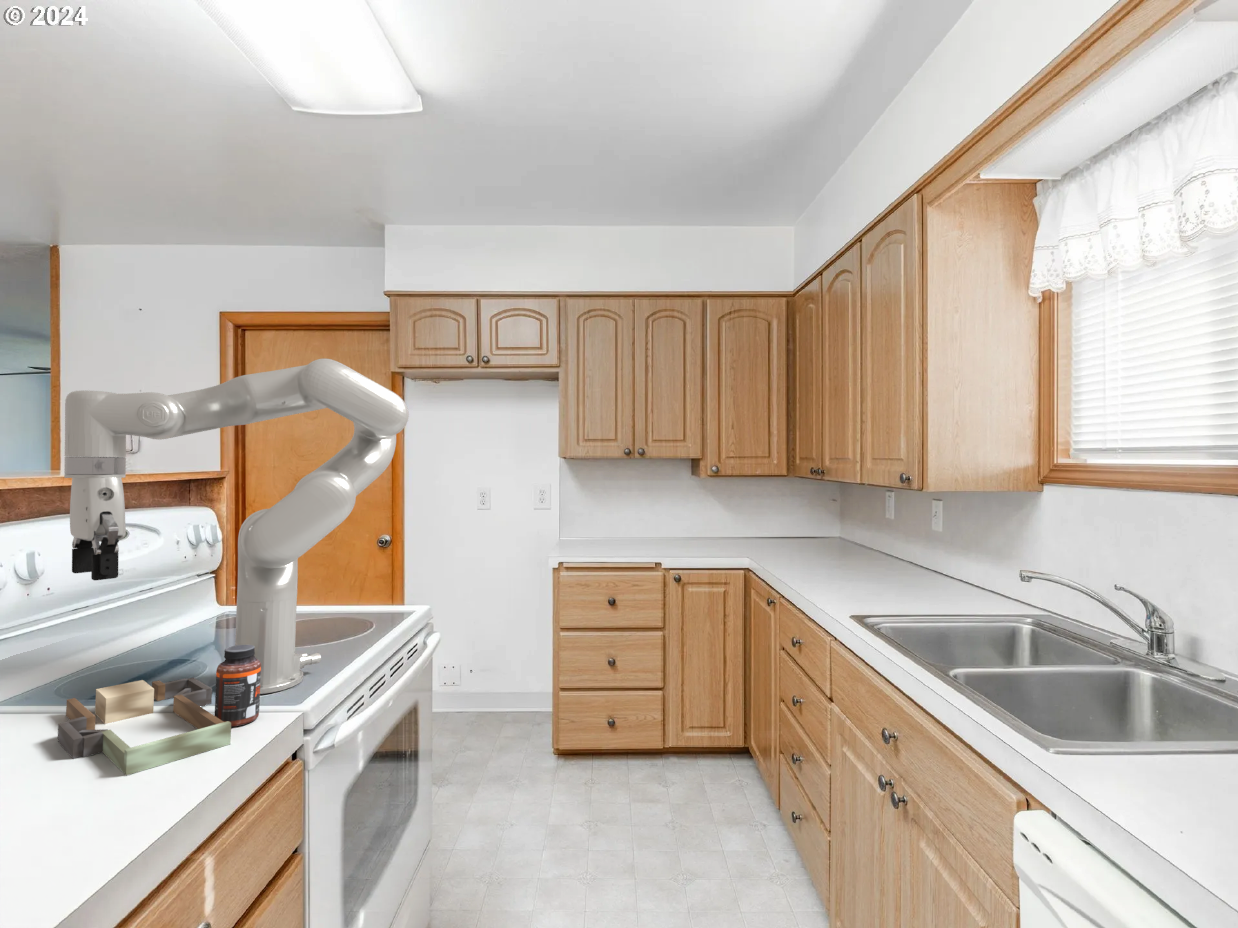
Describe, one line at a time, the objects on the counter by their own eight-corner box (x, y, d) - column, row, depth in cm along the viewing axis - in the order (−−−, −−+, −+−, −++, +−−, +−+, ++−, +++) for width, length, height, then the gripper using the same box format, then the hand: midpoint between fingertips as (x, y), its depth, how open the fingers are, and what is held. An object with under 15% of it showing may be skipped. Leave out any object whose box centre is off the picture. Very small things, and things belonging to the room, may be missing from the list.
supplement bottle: (263, 721, 96) (266, 648, 96) (219, 732, 92) (222, 655, 92) (253, 710, 100) (256, 640, 101) (210, 719, 96) (212, 646, 96)
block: (141, 704, 102) (142, 679, 102) (153, 713, 98) (154, 688, 98) (94, 714, 97) (96, 688, 98) (105, 725, 94) (106, 698, 94)
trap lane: (187, 688, 109) (188, 671, 109) (262, 734, 92) (262, 714, 92) (39, 721, 94) (40, 701, 94) (95, 784, 76) (97, 759, 76)
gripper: (144, 469, 98) (142, 578, 98) (106, 468, 108) (105, 566, 108) (82, 469, 91) (81, 585, 91) (49, 468, 101) (48, 572, 101)
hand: (94, 575), depth 100 cm, fingers open, 9 cm apart
